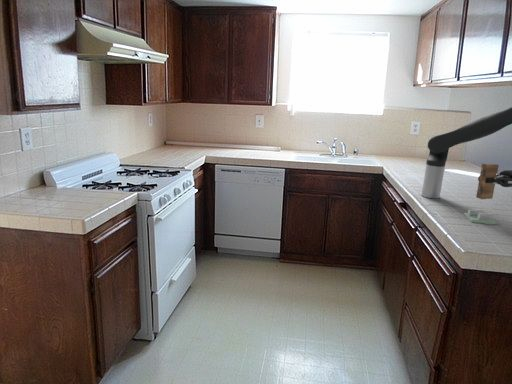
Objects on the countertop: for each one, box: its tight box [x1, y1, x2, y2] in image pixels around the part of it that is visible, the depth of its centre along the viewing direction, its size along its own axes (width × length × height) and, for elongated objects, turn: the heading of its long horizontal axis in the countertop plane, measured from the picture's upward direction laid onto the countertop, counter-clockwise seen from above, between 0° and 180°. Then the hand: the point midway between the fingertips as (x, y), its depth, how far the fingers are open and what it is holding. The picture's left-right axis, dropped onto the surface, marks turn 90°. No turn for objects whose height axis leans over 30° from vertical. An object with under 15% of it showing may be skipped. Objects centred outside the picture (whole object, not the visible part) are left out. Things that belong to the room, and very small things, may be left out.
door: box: [475, 163, 499, 200], centre depth 175 cm, size 3×7×15 cm, turn 108°
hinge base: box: [464, 208, 498, 225], centre depth 179 cm, size 11×10×4 cm
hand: (482, 179), depth 174 cm, fingers closed on door, 3 cm apart
